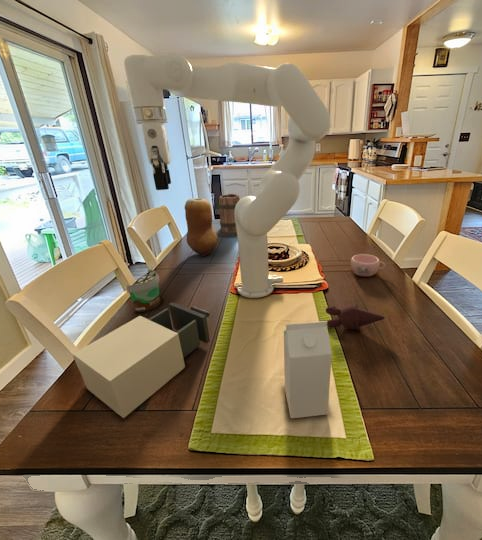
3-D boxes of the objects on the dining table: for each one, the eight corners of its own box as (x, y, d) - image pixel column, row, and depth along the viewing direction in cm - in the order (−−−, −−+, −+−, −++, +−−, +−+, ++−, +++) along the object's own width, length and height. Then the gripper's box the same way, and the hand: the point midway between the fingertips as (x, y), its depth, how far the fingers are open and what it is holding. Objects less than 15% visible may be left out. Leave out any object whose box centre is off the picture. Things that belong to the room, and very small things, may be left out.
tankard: (212, 236, 154) (208, 199, 145) (222, 227, 168) (219, 192, 160) (255, 237, 149) (253, 198, 140) (262, 228, 164) (260, 192, 155)
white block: (148, 347, 74) (139, 315, 70) (185, 367, 67) (178, 333, 63) (87, 388, 63) (72, 353, 58) (123, 418, 56) (109, 381, 51)
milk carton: (284, 388, 60) (283, 313, 52) (318, 385, 61) (321, 309, 53) (290, 419, 54) (289, 338, 46) (327, 415, 54) (333, 334, 46)
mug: (350, 278, 104) (351, 263, 101) (349, 266, 112) (350, 252, 110) (385, 280, 101) (388, 265, 99) (381, 268, 110) (384, 254, 107)
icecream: (382, 300, 78) (325, 300, 81) (387, 309, 71) (324, 309, 74) (382, 325, 79) (326, 324, 83) (387, 335, 72) (325, 334, 75)
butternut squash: (224, 251, 134) (219, 197, 123) (205, 261, 123) (196, 203, 113) (202, 246, 140) (195, 194, 130) (182, 256, 130) (172, 200, 120)
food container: (151, 316, 87) (144, 287, 83) (133, 314, 88) (125, 286, 84) (171, 295, 98) (165, 269, 94) (155, 294, 99) (148, 268, 95)
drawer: (188, 318, 84) (183, 295, 80) (221, 332, 77) (217, 307, 74) (130, 357, 70) (122, 331, 66) (164, 378, 63) (156, 350, 60)
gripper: (163, 113, 65) (176, 190, 72) (168, 118, 80) (179, 181, 88) (128, 114, 64) (145, 193, 71) (140, 119, 79) (153, 183, 86)
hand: (164, 186), depth 79 cm, fingers open, 9 cm apart
